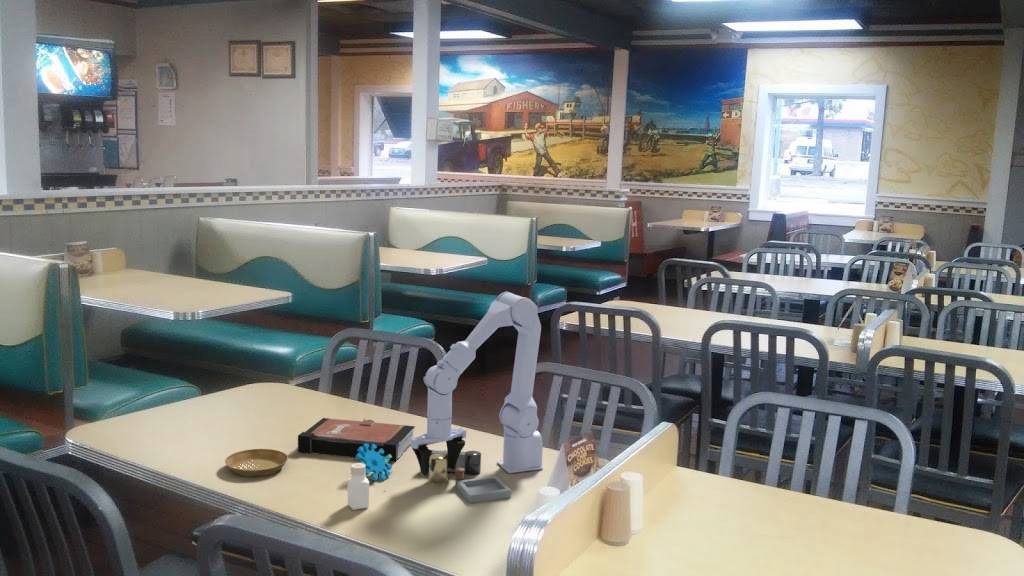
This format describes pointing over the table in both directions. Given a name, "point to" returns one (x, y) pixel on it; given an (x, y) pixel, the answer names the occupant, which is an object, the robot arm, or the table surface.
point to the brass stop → (438, 468)
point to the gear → (374, 461)
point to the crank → (465, 461)
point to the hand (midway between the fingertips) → (438, 471)
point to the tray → (483, 489)
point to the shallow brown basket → (256, 462)
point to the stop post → (459, 475)
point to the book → (355, 438)
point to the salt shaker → (358, 487)
